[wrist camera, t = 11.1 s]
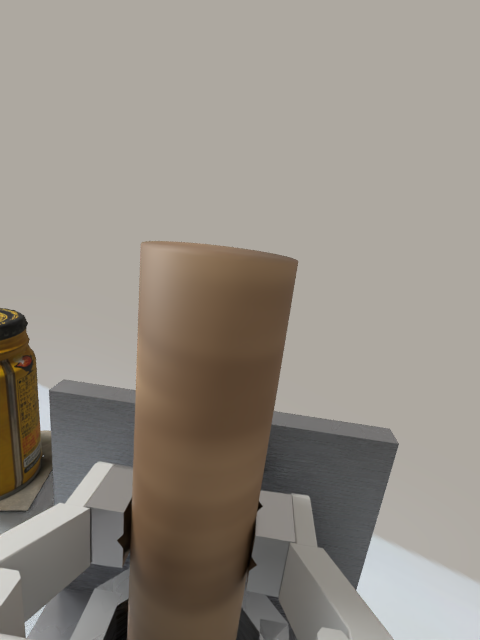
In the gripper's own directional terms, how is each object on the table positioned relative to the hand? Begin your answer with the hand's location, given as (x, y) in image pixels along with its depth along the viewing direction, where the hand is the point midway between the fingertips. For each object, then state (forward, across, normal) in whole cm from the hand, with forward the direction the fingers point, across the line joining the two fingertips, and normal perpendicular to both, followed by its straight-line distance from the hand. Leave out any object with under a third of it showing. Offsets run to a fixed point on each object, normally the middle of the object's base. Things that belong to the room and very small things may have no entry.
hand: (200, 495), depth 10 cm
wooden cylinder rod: (-1, 0, +9) cm, 9 cm away
